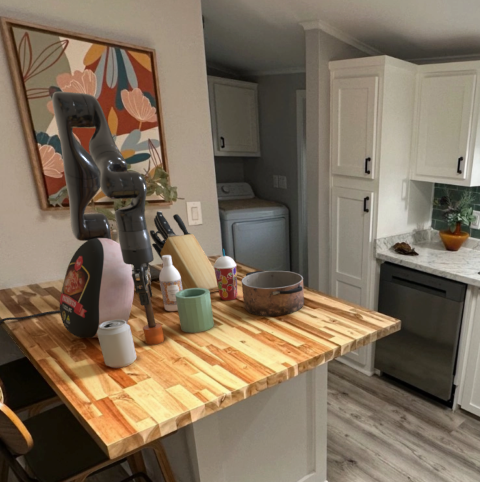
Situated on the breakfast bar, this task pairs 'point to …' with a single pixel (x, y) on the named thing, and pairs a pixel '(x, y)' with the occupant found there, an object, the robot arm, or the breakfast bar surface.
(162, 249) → the knife block
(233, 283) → the smoothie
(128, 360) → the can
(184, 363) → the breakfast bar surface
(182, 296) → the jar
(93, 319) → the packaged food
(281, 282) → the cooking pot
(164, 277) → the bath foam
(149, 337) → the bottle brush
